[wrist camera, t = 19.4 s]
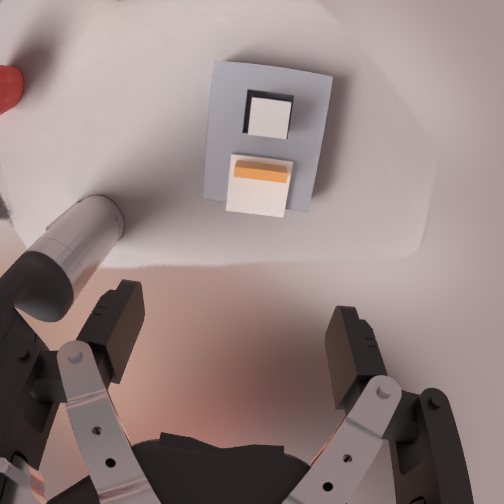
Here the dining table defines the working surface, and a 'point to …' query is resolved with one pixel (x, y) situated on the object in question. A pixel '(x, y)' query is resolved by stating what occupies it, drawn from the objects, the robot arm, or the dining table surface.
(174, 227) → the dining table surface
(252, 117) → the plug
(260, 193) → the shutter
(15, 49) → the dining table surface
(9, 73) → the flower pot
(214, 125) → the socket block
